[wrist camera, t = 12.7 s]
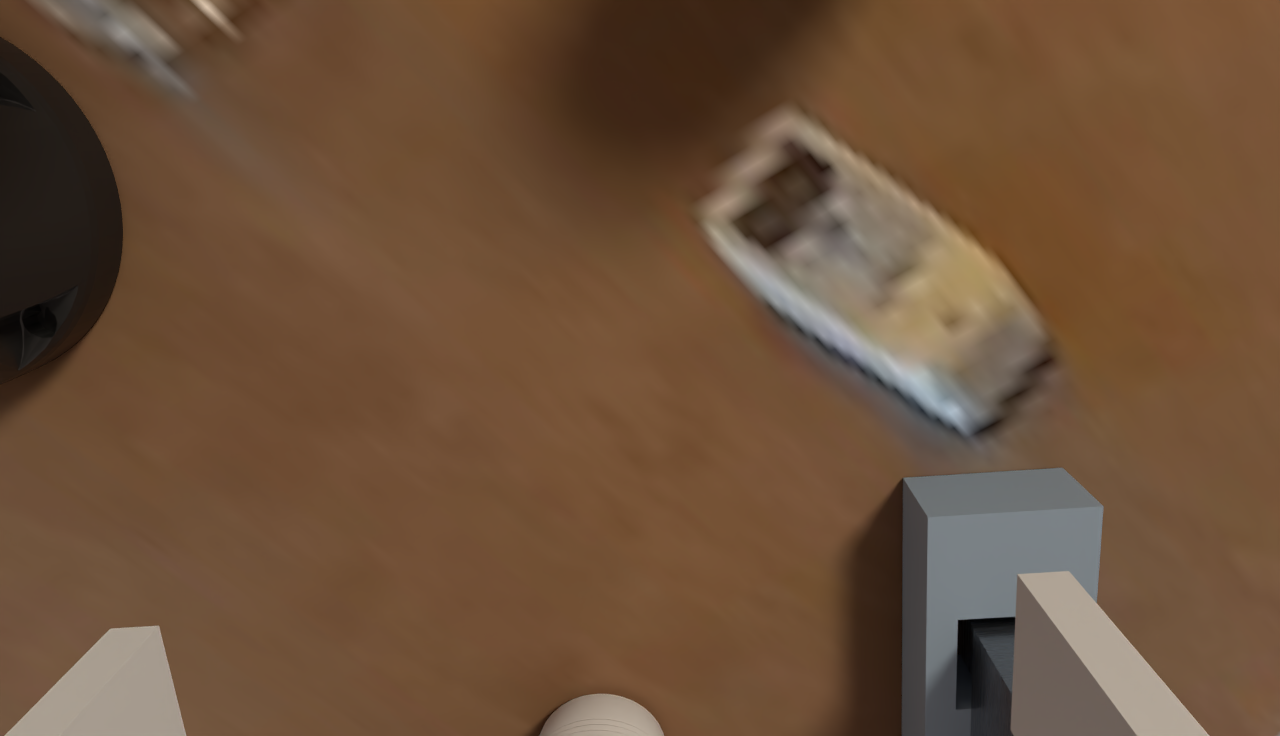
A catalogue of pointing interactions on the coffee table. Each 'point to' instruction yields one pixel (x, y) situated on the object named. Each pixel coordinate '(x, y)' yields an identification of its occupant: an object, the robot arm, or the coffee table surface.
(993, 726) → the clip
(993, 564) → the grey block with hole
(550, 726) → the cup
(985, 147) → the coffee table surface
